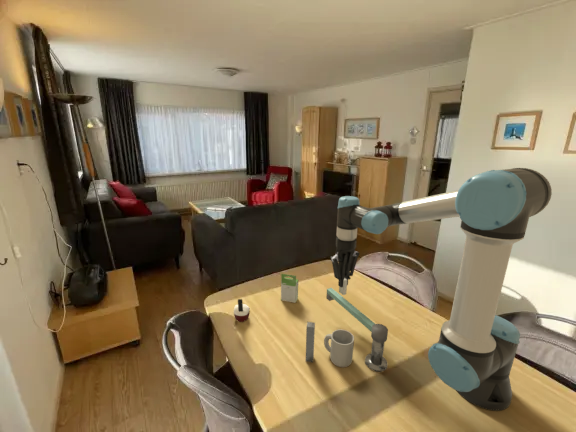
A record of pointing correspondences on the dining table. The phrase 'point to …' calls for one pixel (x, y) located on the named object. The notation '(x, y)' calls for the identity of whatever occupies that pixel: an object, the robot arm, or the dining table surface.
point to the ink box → (289, 288)
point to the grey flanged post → (376, 358)
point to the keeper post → (310, 341)
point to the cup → (340, 347)
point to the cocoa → (241, 311)
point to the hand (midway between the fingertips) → (342, 292)
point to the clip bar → (360, 317)
